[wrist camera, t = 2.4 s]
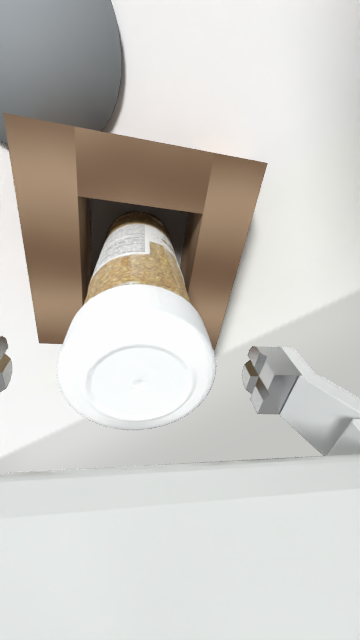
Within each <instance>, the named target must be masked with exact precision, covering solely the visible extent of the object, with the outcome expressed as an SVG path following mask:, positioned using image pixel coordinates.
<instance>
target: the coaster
mask: <svg viewBox="0 0 360 640" xmlns="http://www.w3.org/2000/svg"><path fill="white" fill-rule="evenodd" d="M121 69H122V64H121V46H120V37H119V31H118V26H117V21H116V17H115V13H114V9H113V6H112V3H111V0H0V141H1V142H3V143H5V144H7V145H8V141H7V135H6V128H5V122H4V115H3V113H7V114H12V115H18V116H23V117H28V118H33V119H39V120H44V121H49V122H54V123H59V124H65V125H70V126H75V127H80V128H86V129H91V130H96V131H102V129H103V128H104V126H105V125H106V123H107V122H108V120H109V118H110V116H111V114H112V112H113V110H114V107H115V104H116V100H117V97H118V93H119V87H120V82H121Z"/></svg>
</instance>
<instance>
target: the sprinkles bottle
mask: <svg viewBox="0 0 360 640" xmlns="http://www.w3.org/2000/svg"><path fill="white" fill-rule="evenodd" d="M215 374H216V360H215V354H214V351H213V348H212V345H211V342H210V339H209V336H208V333H207V331H206V328H205V326H204V323H203V321H202V319H201V317H200V315H199V313H198V312H197V311H196V309H195V308H194V307H193V306H192V305H191V303H190V300H189V297H188V294H187V291H186V288H185V283H184V279H183V275H182V272H181V269H180V266H179V263H178V261H177V258H176V255H175V252H174V249H173V247H172V244H171V239H170V236H169V233H168V231H167V229H166V228H165V226H164V225H163V224H162V223H161V221H160V220H158V219H157V218H155V217H154V216H152V215H149V214H146V213H141V212H130V213H128V214H125V215H122V216H121V217H119V218H118V219H116V220H115V221H114V223H113V224H112V225H111V226H110V228H109V231H108V233H107V236H106V242H105V244H104V246H103V248H102V251H101V254H100V256H99V259H98V262H97V264H96V267H95V270H94V273H93V276H92V278H91V281H90V284H89V287H88V294H87V296H86V299H85V302H84V305H83V307H82V308H81V309H80V310H79V311H78V312H77V314H76V315H75V317H74V318H73V320H72V322H71V325H70V327H69V329H68V332H67V334H66V337H65V340H64V343H63V346H62V349H61V352H60V355H59V358H58V363H57V380H58V385H59V388H60V391H61V393H62V395H63V396H64V398H65V400H66V401H67V402H68V404H69V405H70V406H71V407H72V408H73V409H74V410H75V411H77V412H78V413H79V414H80V415H82V416H83V417H85V418H87V419H88V420H90V421H92V422H95V423H97V424H100V425H103V426H106V427H110V428H115V429H121V430H122V429H123V430H143V429H151V428H156V427H160V426H164V425H167V424H170V423H172V422H175V421H177V420H179V419H181V418H183V417H184V416H186V415H187V414H189V413H190V412H192V411H193V410H194V409H195V408H196V407H198V406H199V405H200V403H201V402H202V401H203V400H204V399H205V398H206V396H207V395H208V393H209V391H210V389H211V387H212V385H213V382H214V379H215Z"/></svg>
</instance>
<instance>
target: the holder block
mask: <svg viewBox="0 0 360 640" xmlns="http://www.w3.org/2000/svg"><path fill="white" fill-rule="evenodd" d="M3 115H4V122H5V128H6V135H7V141H8V147H9V154H10V160H11V166H12V173H13V179H14V186H15V192H16V198H17V205H18V211H19V218H20V224H21V230H22V237H23V243H24V250H25V256H26V262H27V269H28V275H29V282H30V288H31V294H32V301H33V307H34V313H35V320H36V326H37V333H38V339H39V343H48V344H63V343H64V340H65V337H66V334H67V332H68V329H69V327H70V325H71V322H72V320H73V318H74V317H75V315H76V314H77V312H78V311H79V310H80V309H81V308H82V307H83V305H84V302H85V299H86V296H87V294H88V287H89V284H90V281H91V278H92V259H91V214H90V198H94V199H101V200H108V201H115V202H122V203H129V204H136V205H143V206H151V207H158V208H165V209H172V210H179V211H186V212H189V215H188V221H187V227H186V233H185V239H184V245H183V252H182V258H181V264H180V269H181V272H182V275H183V279H184V283H185V288H186V291H187V294H188V297H189V300H190V303H191V305H192V306H193V307H194V308H195V309H196V311H197V312H198V313H199V315H200V317H201V319H202V321H203V323H204V326H205V328H206V331H207V333H208V336H209V339H210V342H211V345H212V348H213V350H215V347H216V344H217V340H218V337H219V333H220V330H221V326H222V322H223V319H224V315H225V312H226V308H227V305H228V301H229V298H230V294H231V291H232V287H233V284H234V280H235V276H236V273H237V269H238V266H239V262H240V259H241V255H242V252H243V248H244V245H245V241H246V237H247V234H248V230H249V227H250V223H251V220H252V216H253V213H254V209H255V206H256V202H257V199H258V195H259V191H260V188H261V184H262V181H263V177H264V174H265V170H266V167H267V163H264V162H259V161H254V160H248V159H243V158H238V157H233V156H227V155H222V154H217V153H212V152H206V151H201V150H196V149H191V148H185V147H180V146H175V145H170V144H164V143H159V142H154V141H149V140H143V139H138V138H133V137H128V136H122V135H117V134H112V133H107V132H101V131H96V130H91V129H86V128H80V127H75V126H70V125H65V124H59V123H54V122H49V121H44V120H39V119H33V118H28V117H23V116H18V115H12V114H7V113H3Z"/></svg>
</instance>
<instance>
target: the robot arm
mask: <svg viewBox="0 0 360 640" xmlns="http://www.w3.org/2000/svg"><path fill="white" fill-rule="evenodd" d="M7 349H8V344H7V340H6V338H4V337H3V336H0V392H1V391H3V390H5V389H6V388H7V386H8V384H9V382H10V379H11V375H12V362H11V358H9V357H8V356H7V355H6V354H5V352H6V350H7ZM248 357H249V359H250V360H249V361H248V362H247V363H246V364H245V365H244V367H243V371H242V380H243V385H244V387H245V389H246V390H247V391H248V392H250V393H251V394H252V395H251V398H250V400H251V402H252V404H253V406H254V408H255V410H256V412H257V414H280V416H281V417H282V418H283V419H284V420H285V421H286V422H287V423H288V424H289V425H291V426H292V427H293V428H294V429H295V430H296V431H297V432H298V433H299V434H300V435H302V436H303V437H304V438H305V439H306V440H307V441H308V442H309V443H310V444H311V445H312V446H313V447H315V448H316V449H317V450H318V451H319V452H320V453H321V454H322V455H323V456H314V457H295V458H275V459H257V460H239V461H220V462H201V463H182V464H164V465H144V466H126V467H105V468H86V469H69V470H68V469H67V470H48V471H29V472H13V473H12V472H10V473H0V640H360V398H358V397H357V396H355V395H353V394H351V393H350V392H348V391H346V390H344V389H342V388H341V387H339V386H337V385H335V384H334V383H332V382H330V381H328V380H327V379H325V378H323V377H321V376H316V374H315V373H314V372H313V371H312V370H311V368H310V367H309V366H308V365H307V364H306V363H305V361H304V360H303V359H302V358H301V356H300V355H299V354H298V353H297V352H296V350H295V349H294V348H292V347H260V346H252V347H251V349H250V350H249V353H248Z"/></svg>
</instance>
